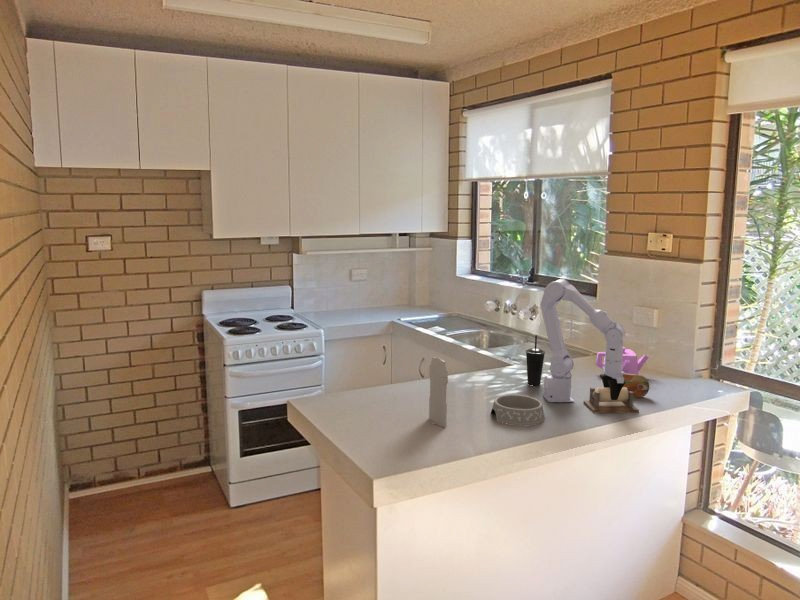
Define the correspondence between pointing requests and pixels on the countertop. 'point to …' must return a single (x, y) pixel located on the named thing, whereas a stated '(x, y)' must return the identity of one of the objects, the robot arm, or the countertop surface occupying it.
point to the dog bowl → (518, 410)
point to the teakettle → (626, 361)
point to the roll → (607, 398)
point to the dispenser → (438, 392)
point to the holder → (610, 404)
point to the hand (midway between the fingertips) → (611, 397)
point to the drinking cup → (534, 364)
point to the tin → (636, 384)
